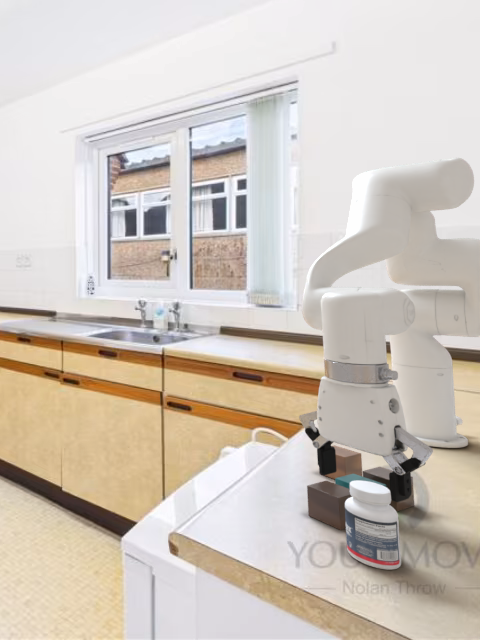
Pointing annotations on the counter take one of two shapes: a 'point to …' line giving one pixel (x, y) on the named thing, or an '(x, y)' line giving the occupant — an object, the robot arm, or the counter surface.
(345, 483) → the teal toy cube
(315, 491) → the brown cube
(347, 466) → the caramel wooden cube
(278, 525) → the counter surface
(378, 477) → the taupe block
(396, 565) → the pill bottle
